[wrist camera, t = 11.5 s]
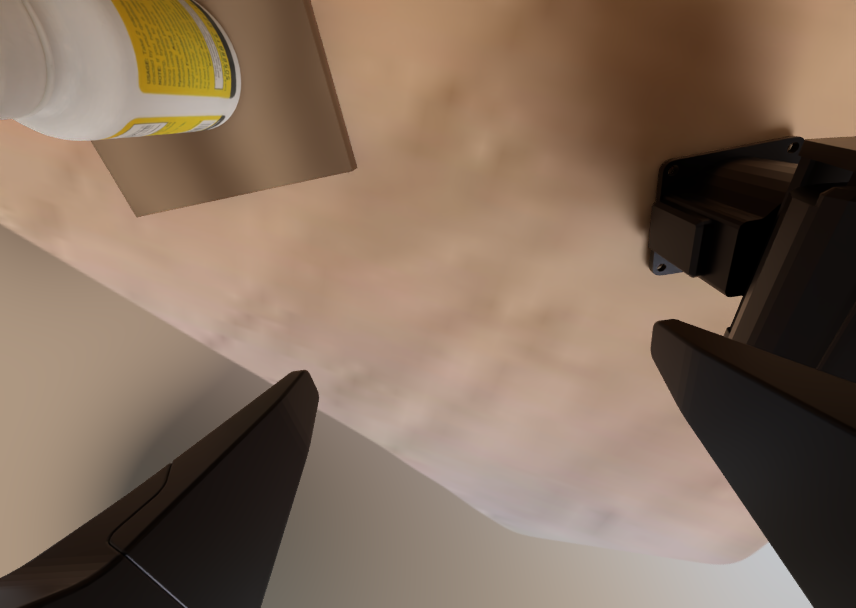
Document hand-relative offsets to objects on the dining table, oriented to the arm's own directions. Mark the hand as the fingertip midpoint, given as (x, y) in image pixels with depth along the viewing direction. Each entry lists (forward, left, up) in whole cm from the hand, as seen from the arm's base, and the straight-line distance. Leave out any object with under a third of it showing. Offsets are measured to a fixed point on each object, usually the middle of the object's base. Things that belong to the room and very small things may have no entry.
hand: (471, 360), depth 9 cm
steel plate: (+11, -9, -13) cm, 19 cm away
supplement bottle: (+11, -10, -12) cm, 19 cm away
